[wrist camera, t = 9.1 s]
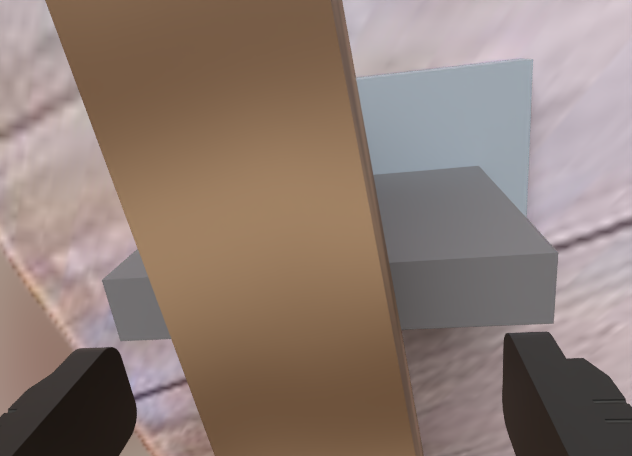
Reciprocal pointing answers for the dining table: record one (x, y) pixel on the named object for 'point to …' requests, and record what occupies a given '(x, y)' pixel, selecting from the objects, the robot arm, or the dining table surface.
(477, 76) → the fulcrum board
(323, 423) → the walnut bar
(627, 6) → the dining table surface
